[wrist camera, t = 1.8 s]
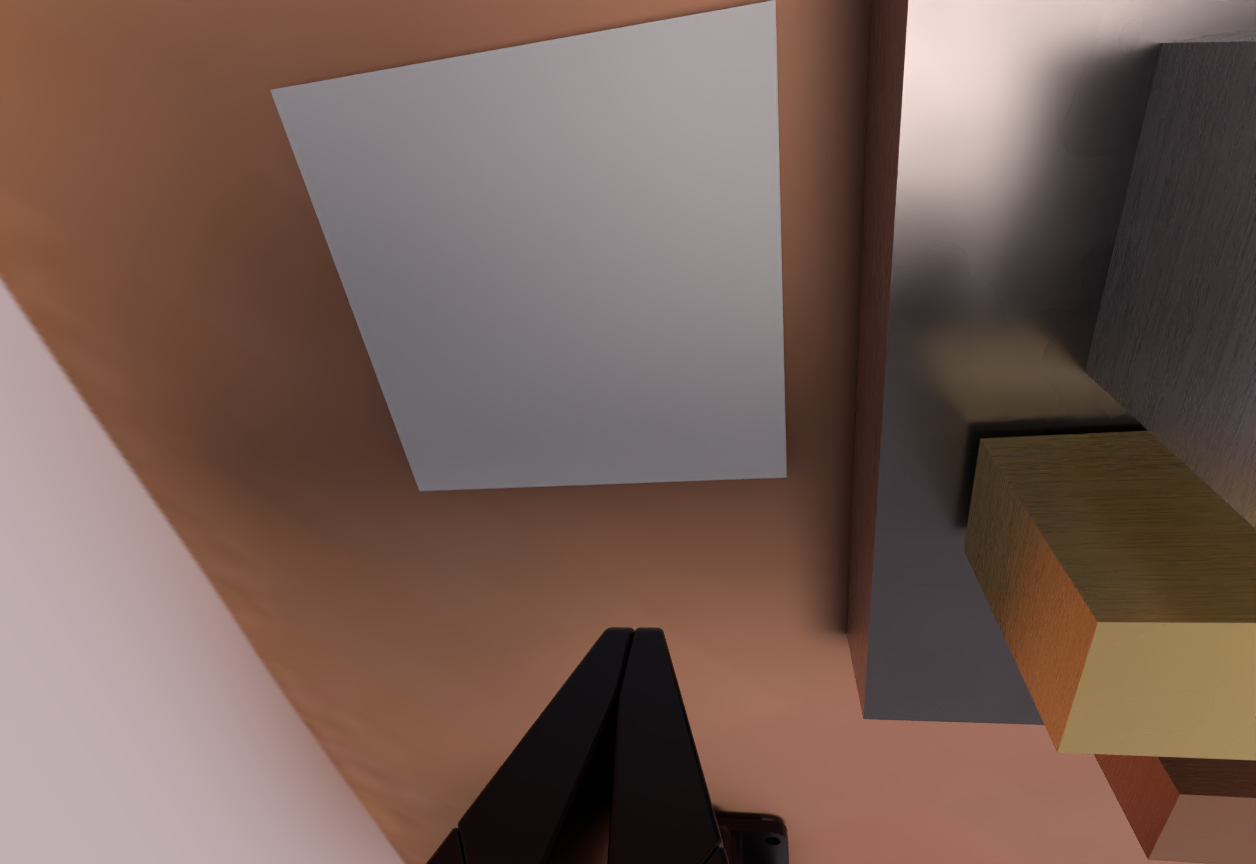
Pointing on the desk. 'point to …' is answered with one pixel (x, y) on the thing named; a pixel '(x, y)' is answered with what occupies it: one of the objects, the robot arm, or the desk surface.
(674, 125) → the felt mat
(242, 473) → the desk surface
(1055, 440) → the block
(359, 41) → the desk surface
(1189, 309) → the light grey block
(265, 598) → the desk surface
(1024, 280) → the dark grey base plate
